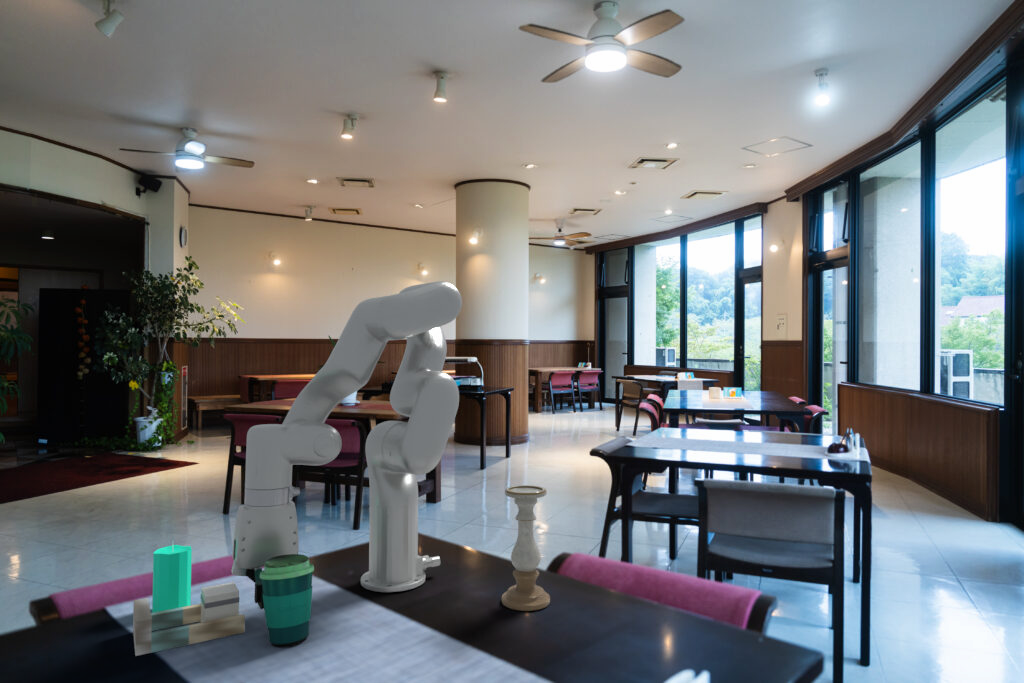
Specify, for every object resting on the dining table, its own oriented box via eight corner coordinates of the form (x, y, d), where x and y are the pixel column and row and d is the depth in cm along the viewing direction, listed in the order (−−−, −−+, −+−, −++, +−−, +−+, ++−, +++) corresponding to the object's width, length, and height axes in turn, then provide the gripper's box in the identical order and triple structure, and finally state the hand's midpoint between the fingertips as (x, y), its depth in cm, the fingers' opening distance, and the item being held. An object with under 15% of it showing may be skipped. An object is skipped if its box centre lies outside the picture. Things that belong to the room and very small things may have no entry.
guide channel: (234, 611, 108) (234, 582, 109) (244, 632, 100) (245, 600, 100) (133, 632, 100) (133, 600, 100) (135, 656, 92) (136, 621, 92)
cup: (261, 653, 93) (262, 571, 93) (256, 632, 100) (257, 556, 100) (317, 642, 97) (318, 563, 97) (308, 623, 104) (309, 550, 104)
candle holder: (493, 607, 110) (493, 491, 111) (512, 590, 119) (512, 483, 119) (540, 614, 107) (540, 495, 108) (556, 597, 115) (556, 486, 116)
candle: (173, 618, 106) (175, 546, 106) (143, 615, 107) (145, 544, 108) (198, 604, 112) (199, 537, 112) (169, 602, 113) (170, 535, 113)
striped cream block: (233, 617, 106) (234, 581, 106) (238, 628, 102) (239, 590, 102) (200, 624, 103) (200, 587, 104) (204, 635, 99) (205, 597, 99)
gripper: (306, 489, 115) (303, 591, 114) (217, 497, 106) (212, 607, 105) (318, 496, 108) (314, 604, 107) (224, 505, 100) (219, 622, 99)
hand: (264, 605), depth 106 cm, fingers closed
